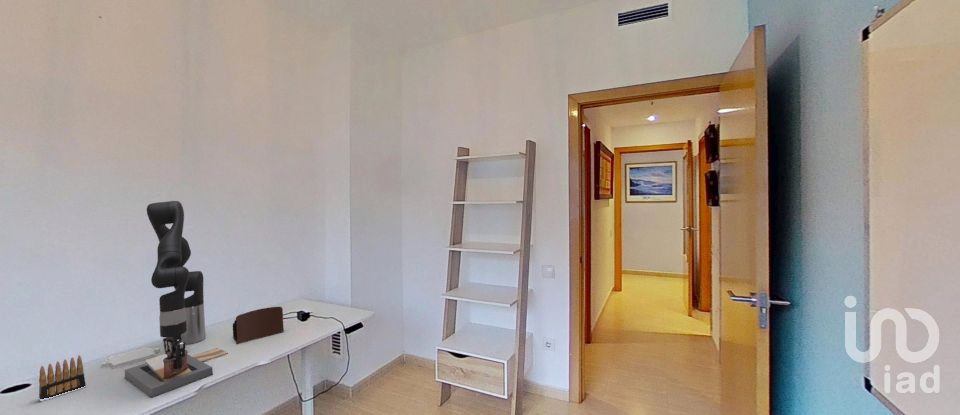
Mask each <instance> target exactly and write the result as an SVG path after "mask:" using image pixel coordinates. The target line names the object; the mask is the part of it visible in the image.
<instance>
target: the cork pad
mask: <svg viewBox="0 0 960 415" xmlns="http://www.w3.org/2000/svg"><path fill="white" fill-rule="evenodd" d="M227 355H228V352H227V351H226V350H224V349H223V350H222V349H221V348H218V347H215V348H212V349H209V350H205V351H202V352H201V353H197V354H194V355H190V356H191V357H193V358H195V359H197V360H199V361H201V362H203V363H205V361H206V362H208V361H210V360H213V359H214V360H215V359H217V358H220V357H223V356H227Z"/></svg>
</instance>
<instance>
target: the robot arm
mask: <svg viewBox="0 0 960 415" xmlns="http://www.w3.org/2000/svg"><path fill="white" fill-rule="evenodd" d="M146 215H147V217H148V220H149V223H150V224H151V227H152V228H153V230H154V232H155V234H156V236H157V239H158V241H159V242H158V244H157V248H156V249H157V263H156V266H155V268H154V271H153V272H152V276H151V280H150V281H151V284H152V286H153V287H154V288H156V289H165V288H172V287H173V288H174V290H173V291H171V292H167V293H165V294H162V295H160V296H159V300H158V301H159V318H158V319H159V320H158V321H159V332H160V333H159V334H160V337H161V338H162V342H163V347H164V348H163V349H164V353H165V354H167V353H168V352H170V351H171V354H173V359H174V369H175V370H177V369H180V368H182V358H183V357H185V350H186V348H187V347H186V345H191V344H195V343H199V342H202V341H204V340H206V322H205V321H206V320H205V304H204V303H205V302H204V274H203V272H202V271H201V270H194V271H193V270H192V271H190V270H189V269H188V268H187V267H185V264H186V263H187V262H188V261H189V260H190V257H191V254H192V250H191V247H190V244H189V241H188V240H187V239H186V238H185V237H183V231H184V222H185V210H184V207H183V204H182V202H180V201H178V200H169V201H161V202H160V201H159V202H151V203H149V204H148V205H147V206H146ZM170 224H172V225H171V227H170V228H169V227H168V226H167V225H170ZM186 292H193V294H191V295H189V296H187V297H185V293H186ZM174 350H176V351H174ZM179 353H180V355H178V354H179ZM165 354H164V355H165Z"/></svg>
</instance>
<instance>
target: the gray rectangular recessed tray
mask: <svg viewBox="0 0 960 415" xmlns="http://www.w3.org/2000/svg"><path fill="white" fill-rule="evenodd" d="M191 356H192V355H189V354H187V367H188V368H189V369H190V370H191V372H189V373H186V374H183V375H180V376H177V377H174V378H172V379H169V380H166V381H162V380H161V379H160V378H159V377H158V376H157V375H156V374H155V373H154V371H153V370H152V369H151V368H150V367H149V366H148V365H147V364H146V363H145V362H144V363H142V364H139V365H136V366H132V367H130V368H126V369H124V370H123V371H124V378H125V379H126V380H127V381H129V382H130V383H132V384H133V385H134V386H135V387H137V388H138V389H139V390H141V391H142V392H143V393H144V394H146V395H147V396H149V397H150V398H155V397H157V396H160V395H163V394H165V393H168V392H171V391H173V390H177V389H179V388H181V387H184V386H187V385H189V384H192V383H194V382H197V381H200V380H203V379H205V378H207V377H211V376H213V375H214V374H213V372H214V371H213V366H211V365H209V364H207V363H205V362H201V361H199V360H197V359H195V358H193V357H191Z"/></svg>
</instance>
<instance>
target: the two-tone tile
mask: <svg viewBox="0 0 960 415" xmlns="http://www.w3.org/2000/svg"><path fill="white" fill-rule="evenodd" d="M166 357H167V354H161V355H159V356H156V357H154V358H151V359H147V360H144V364H145V363H146V364H147V365H148V366H149V367H150V368H151V369H152V370H153V371H154V373H155V374H156V375H157V376H158V377H159V378H160V379H161V380H162V381H166V380H169V379H163V377H164V362H163V359H165V358H166ZM189 372H191V370H190V369H189V368H188V369H187V370H186V371H184V372H183V373H181V374H179V375H177V376H180V375H183V374H186V373H189ZM177 376H175V377H177ZM173 378H174V377H173ZM170 379H172V378H170Z"/></svg>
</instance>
